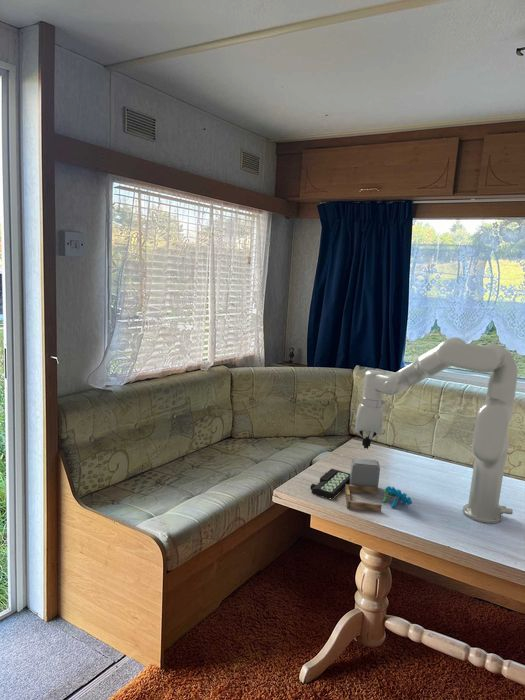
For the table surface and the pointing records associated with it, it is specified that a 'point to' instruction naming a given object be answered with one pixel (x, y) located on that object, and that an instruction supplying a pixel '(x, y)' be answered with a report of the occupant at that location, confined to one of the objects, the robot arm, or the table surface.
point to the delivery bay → (361, 504)
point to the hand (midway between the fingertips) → (365, 447)
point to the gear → (396, 496)
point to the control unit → (364, 473)
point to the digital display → (331, 483)
